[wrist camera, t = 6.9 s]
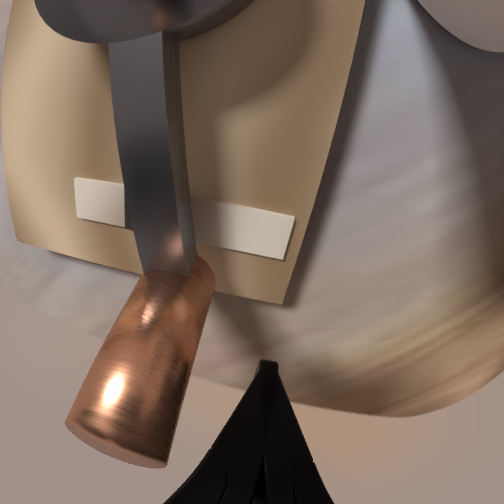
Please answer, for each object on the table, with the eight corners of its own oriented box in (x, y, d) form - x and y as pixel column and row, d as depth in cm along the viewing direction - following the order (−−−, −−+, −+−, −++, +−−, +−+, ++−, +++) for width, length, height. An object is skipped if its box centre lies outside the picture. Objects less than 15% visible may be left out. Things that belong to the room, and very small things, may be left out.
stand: (370, -82, 4) (383, -102, 3) (282, 281, 13) (281, 309, 12) (60, -75, 4) (37, -83, 3) (33, 226, 13) (14, 243, 11)
